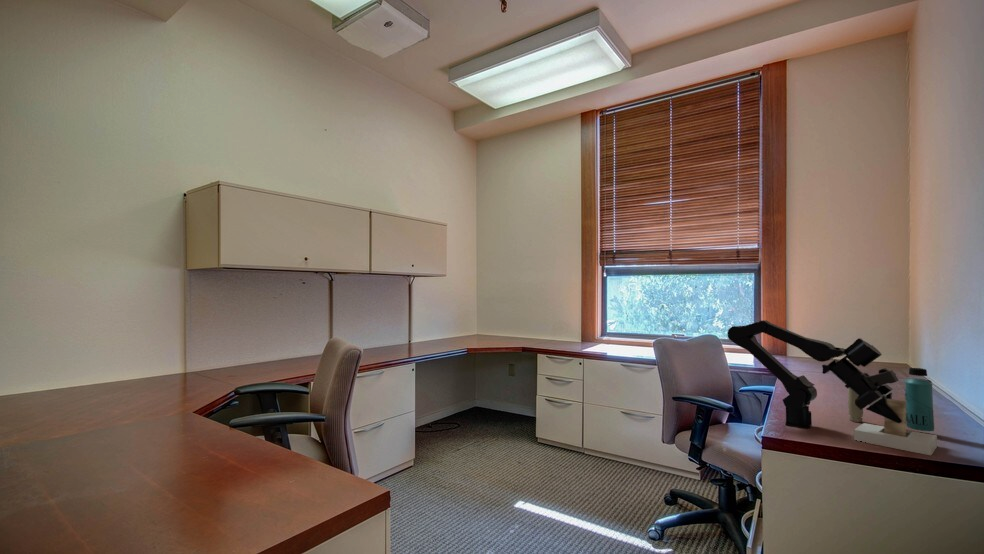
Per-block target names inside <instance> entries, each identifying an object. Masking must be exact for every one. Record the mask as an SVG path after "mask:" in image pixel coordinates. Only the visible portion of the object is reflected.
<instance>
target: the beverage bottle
mask: <svg viewBox="0 0 984 554" xmlns="http://www.w3.org/2000/svg"><path fill="white" fill-rule="evenodd" d="M908 375H910V376H917V377H928V371H927V369H926V368H921V367H909V369H908ZM904 384H905V385H904V386H905V387H904V400H905V401H906V428H909V429H911V430H914V431H915V430H916V431H923V432H934V430H935V416H934V415H935V414H934V403H933V402H934V399H933V395H934V394H933V383H932V382H931V381H929V380H928V379H924V378H914V377H910V378H908V379H906V380H905V381H904Z"/></svg>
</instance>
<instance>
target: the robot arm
mask: <svg viewBox="0 0 984 554" xmlns="http://www.w3.org/2000/svg"><path fill="white" fill-rule="evenodd" d="M762 333H763V334H766V335H767V336H770V337H772V338H774V339H777V340H779V341H782V342H784V343H786V344H789V345H791V346H793V347H796V348H797V349H799V350H800V351H802V352H803V353H805V354H806V356H808V357H810V358H812V359H813V360H815V361H817V362H822V363H823V362H827V361H828V362H829V361H830V362H829V363H828V364H822V365H821V367H822V374H823V375H825V374H828V373H830V372H831V373H832V374H833V375H834V376H836V378H838V379H839V380H840V381H841V382H842V383H844V387H845V388H846V389H847V390H848V388H850V389H851V390H852V391H853V392H854V393H856V394H857V395H858V397H857V399H855V405H856V406H857V407H858V408H859V409H861V410H862V409H863V410H864V409H865V410H866V411H869V412H872V413H875V414H877V415H879V416H882V417H884V418H885V417H886V418H888V419H890V420H892V421H894V422H897V423H901V422H902V420H901V419H900V418H899V416H898V415H897V414H896V413H895V412H894V411H893V410H892V408H891V407H890V406H889V405H888V404H887V398H888V399H892V398H893V392H892V391H893V388H892V387H891V386H889V385H888V384H893V383H894V384H895V383H897V382H899V378H898V377H897V374H896V372H894V371H893V369H892V370H889V369H887V368H881V369H878V373H876V374H873V375H870V374H869V373H868V372H862V371H861V370H860V369H859V368H858V367H860V366H861V367H863V368H865V367H867V366H868V365H870V364H871V363H873V362H874V361H876V359H878V358H879V357H881V356H882V352H880V350H879V349H877V348H876V347H875V346H874V345H872V344H870V343H868V342H867V341H866V340H864V339H862V338H860V337H859V338H857V339H856V340H854V341H853V343H852V344H850V345H849V346H848V347H846V348H844V347H836V346H835V345H834V344H832V343H830V342H827V341H822V340H820V339H814V338H810V337H805V336H803V335H801V334H798V333H796V332H793V331H791V330H788V329H787V328H783V327H781V326H780V325H777V324H774V323H771V322H770V321H769V320H766V319H765V320H758V321H756V322H753V323H749V324H746V325H733V326H731V327H729V328H728V330H727V338H728V339H729V341H731V342H732V343H733V344H735V345H736V346H738V347H740V348H742V349H744V350H746V351H748V352H749V353H750V354H751V355H752V356H753V357H754V358H755V359H756V360H757V361H758V362H759V363H760V364H761V365H763V367H764V368H766V369H767V370H768V371H769V372H770V373H771V374H772V375H773V376H774V377H775V378H776V379H777V380H778V381H779V382H780V383H781V384H782V385H783V387H784V389H785V391H786V393H787V394H788V395H787V396H786V397H784V398H783V399H782V402H783V405H784V407H785V423H784V424H785V425H786V426H790V427H798V428H805V429H810V428H811V426H812V425H813V424H812V411H811V410H810V403H811V402H812V401H814V400H816V399H817V397H818V390H817V388H816V387H815V383H812V382H811V381H810V380H809V379H808V378H807V377H806V376H805V375H800V376H797V375H795V374H794V373H792V371H790V370H789V369H788V368H787V367H786V366H785V365H784V364H783V363H781V361H779V360H778V359H777V358H776V357H775V356H774V355H773V354H772V353H770V352H769V351H768V350H767V348H764V346H763V345H762V344H761V343H759V341H758V339H757V338H756V336H757V335H760V334H762ZM843 356H844V357H843ZM838 357H839V358H840V357H842V358H841V359H834V358H838ZM831 360H832V361H831ZM867 406H868V407H867Z"/></svg>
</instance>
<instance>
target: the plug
mask: <svg viewBox="0 0 984 554" xmlns="http://www.w3.org/2000/svg"><path fill="white" fill-rule="evenodd" d="M887 404H888V405H889V406H890V407H891V408H892V410H893V411H894V412H895V413H896V414H897V415H898V416H899V418H900V419H901V420H902V422H901V423H897V422H894V421H892V420H890V419H888V418H886V417H884V424H883V425H884V433H886V434H892V435H898V436H903V437H906V430H907V425H906V424H907V422H906V400H899V399H894V398H893V399H888V398H887Z"/></svg>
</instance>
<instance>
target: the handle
mask: <svg viewBox="0 0 984 554" xmlns="http://www.w3.org/2000/svg"><path fill="white" fill-rule="evenodd" d="M847 390H848V393H847V395H848V396H847V409H848V415H849V421H852V422H855V423H863V416H864V415H863V414H864V408H863V409H862V410H861V409H859V408H858V407H857V406H856V405H855V399H857V397H858V395H857V394H856V393H854V392H853V391H852V390H851V389H850V388H848V389H847Z"/></svg>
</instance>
